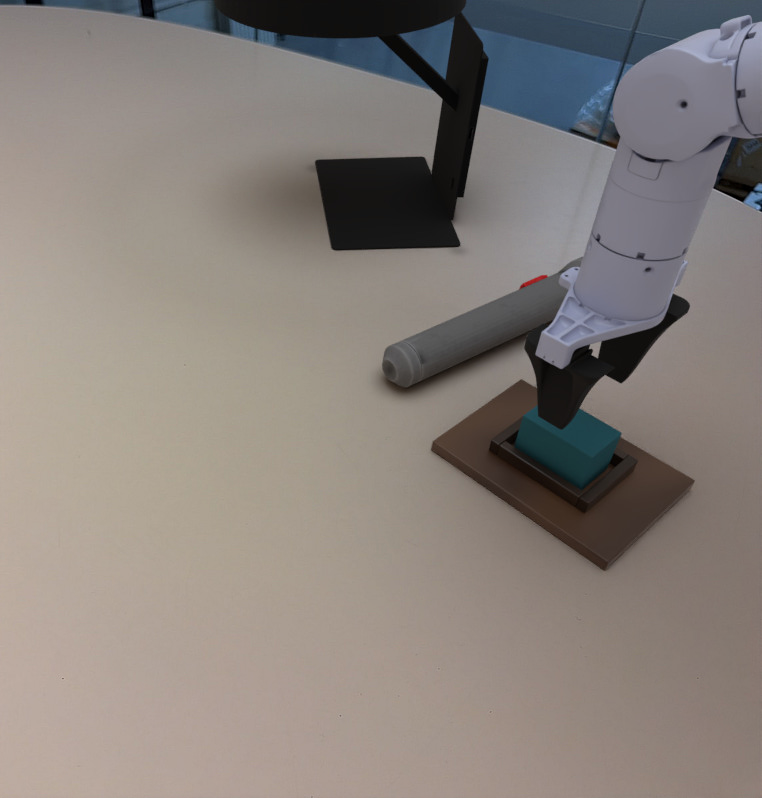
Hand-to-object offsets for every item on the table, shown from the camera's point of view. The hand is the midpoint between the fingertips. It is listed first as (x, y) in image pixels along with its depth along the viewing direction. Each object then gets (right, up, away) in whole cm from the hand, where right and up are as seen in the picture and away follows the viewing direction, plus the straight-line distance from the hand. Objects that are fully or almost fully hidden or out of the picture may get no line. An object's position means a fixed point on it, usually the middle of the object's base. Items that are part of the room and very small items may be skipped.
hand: (582, 397), depth 60 cm
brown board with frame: (0, -6, +5) cm, 8 cm away
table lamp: (-13, +24, +39) cm, 47 cm away
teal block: (0, -5, +5) cm, 7 cm away
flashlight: (0, +6, +18) cm, 19 cm away
